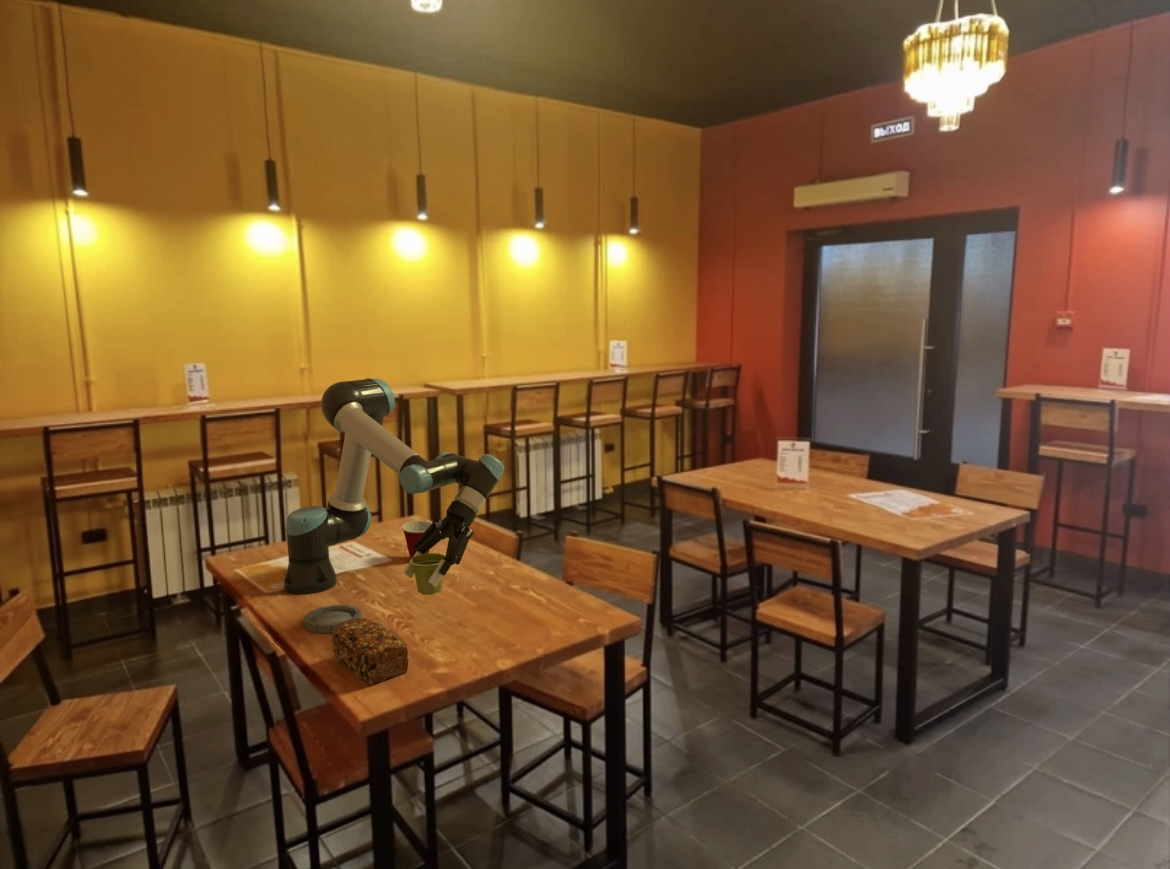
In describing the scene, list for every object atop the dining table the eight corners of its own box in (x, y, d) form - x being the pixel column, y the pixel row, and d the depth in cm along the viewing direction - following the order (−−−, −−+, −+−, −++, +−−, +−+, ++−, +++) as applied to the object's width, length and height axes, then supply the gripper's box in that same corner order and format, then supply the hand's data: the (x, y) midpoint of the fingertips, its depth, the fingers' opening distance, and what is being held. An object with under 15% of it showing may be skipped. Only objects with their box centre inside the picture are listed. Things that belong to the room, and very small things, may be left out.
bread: (332, 661, 188) (329, 621, 187) (372, 648, 196) (370, 610, 194) (369, 688, 175) (366, 646, 173) (411, 673, 182) (409, 632, 180)
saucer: (296, 633, 204) (296, 625, 204) (315, 611, 219) (315, 604, 218) (351, 632, 204) (351, 625, 204) (367, 611, 218) (366, 604, 218)
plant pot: (407, 598, 198) (406, 565, 196) (415, 584, 207) (414, 553, 206) (444, 598, 198) (443, 565, 196) (450, 584, 207) (449, 553, 206)
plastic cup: (408, 567, 255) (407, 531, 253) (398, 557, 265) (397, 523, 263) (440, 561, 261) (439, 526, 259) (429, 552, 270) (428, 519, 268)
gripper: (501, 522, 204) (456, 597, 195) (446, 507, 218) (401, 577, 209) (485, 506, 199) (438, 582, 190) (430, 492, 213) (384, 563, 204)
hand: (419, 579), depth 199 cm, fingers closed on plant pot, 9 cm apart
